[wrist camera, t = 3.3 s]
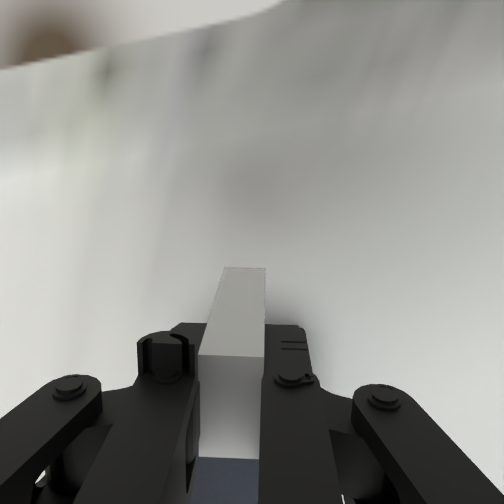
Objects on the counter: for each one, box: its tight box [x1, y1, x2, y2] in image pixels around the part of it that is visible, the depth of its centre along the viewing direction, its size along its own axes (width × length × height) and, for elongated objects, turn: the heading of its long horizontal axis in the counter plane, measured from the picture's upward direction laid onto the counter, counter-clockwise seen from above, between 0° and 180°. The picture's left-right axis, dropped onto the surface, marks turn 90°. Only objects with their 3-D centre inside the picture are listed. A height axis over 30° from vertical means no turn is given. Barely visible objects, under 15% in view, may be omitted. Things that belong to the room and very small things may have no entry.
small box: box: [190, 328, 305, 504], centre depth 25 cm, size 11×6×10 cm, turn 0°
